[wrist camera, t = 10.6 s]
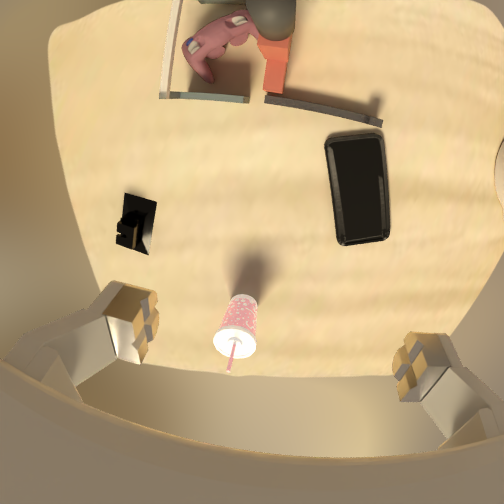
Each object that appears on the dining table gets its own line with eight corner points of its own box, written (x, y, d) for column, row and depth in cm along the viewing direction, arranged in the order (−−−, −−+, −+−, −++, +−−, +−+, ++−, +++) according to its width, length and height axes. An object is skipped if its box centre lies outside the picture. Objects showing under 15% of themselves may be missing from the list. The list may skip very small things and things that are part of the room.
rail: (376, 118, 32) (383, 120, 29) (374, 125, 33) (381, 127, 30) (266, 95, 33) (264, 94, 30) (265, 103, 33) (263, 103, 31)
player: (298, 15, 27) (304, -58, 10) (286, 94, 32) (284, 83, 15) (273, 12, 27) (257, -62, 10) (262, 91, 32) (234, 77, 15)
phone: (337, 247, 40) (323, 139, 34) (336, 243, 41) (322, 138, 35) (390, 239, 39) (383, 133, 32) (388, 236, 40) (381, 132, 33)
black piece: (123, 181, 41) (107, 190, 37) (165, 194, 41) (152, 204, 37) (117, 249, 47) (103, 263, 43) (154, 263, 47) (143, 278, 43)
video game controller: (263, 29, 30) (243, -3, 23) (278, 50, 29) (260, 17, 23) (198, 66, 33) (169, 41, 26) (209, 88, 33) (179, 64, 26)
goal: (264, 0, 26) (256, -27, 18) (248, 103, 33) (236, 103, 26) (201, -2, 27) (178, -25, 19) (187, 98, 34) (158, 98, 26)
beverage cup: (263, 319, 49) (253, 386, 37) (228, 319, 50) (209, 383, 38) (260, 290, 46) (249, 357, 34) (222, 290, 47) (200, 354, 35)
